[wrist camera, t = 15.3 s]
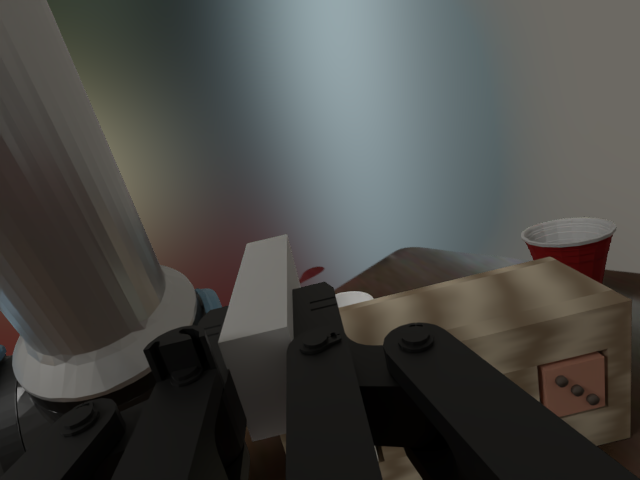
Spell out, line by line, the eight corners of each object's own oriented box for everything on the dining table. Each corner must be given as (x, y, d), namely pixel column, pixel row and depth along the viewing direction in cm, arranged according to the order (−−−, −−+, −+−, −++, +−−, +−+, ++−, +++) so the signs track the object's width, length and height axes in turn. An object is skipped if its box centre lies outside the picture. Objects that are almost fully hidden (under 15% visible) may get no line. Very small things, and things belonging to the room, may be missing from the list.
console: (305, 516, 36) (264, 388, 32) (302, 429, 46) (270, 324, 42) (630, 437, 36) (631, 299, 32) (556, 368, 46) (550, 256, 42)
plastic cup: (554, 282, 64) (550, 210, 60) (633, 302, 54) (634, 218, 51) (510, 310, 59) (502, 234, 56) (588, 337, 50) (585, 248, 46)
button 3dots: (551, 423, 34) (548, 374, 33) (501, 365, 42) (497, 323, 41) (608, 409, 34) (608, 359, 33) (548, 353, 42) (545, 311, 41)
